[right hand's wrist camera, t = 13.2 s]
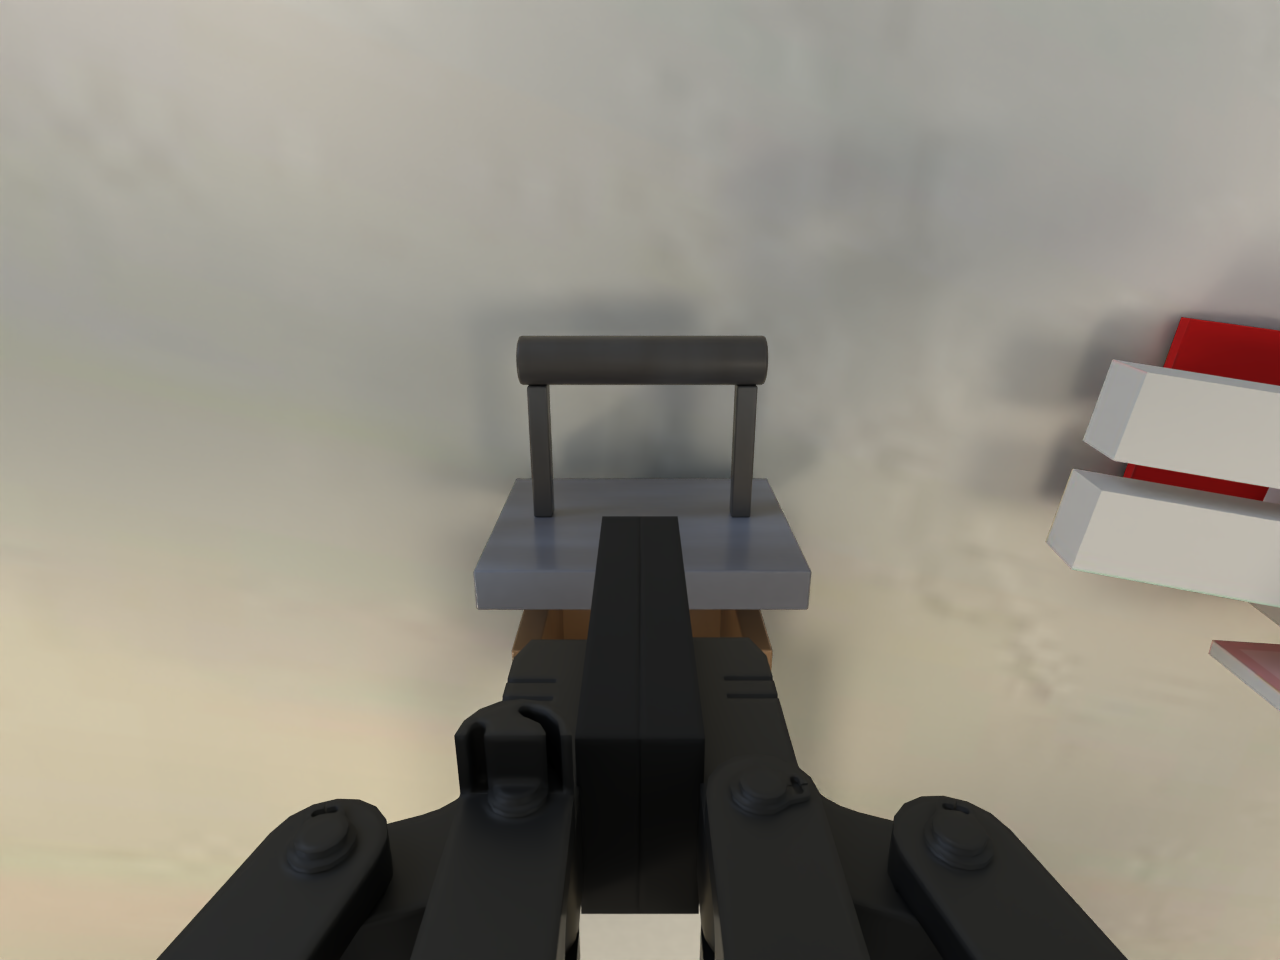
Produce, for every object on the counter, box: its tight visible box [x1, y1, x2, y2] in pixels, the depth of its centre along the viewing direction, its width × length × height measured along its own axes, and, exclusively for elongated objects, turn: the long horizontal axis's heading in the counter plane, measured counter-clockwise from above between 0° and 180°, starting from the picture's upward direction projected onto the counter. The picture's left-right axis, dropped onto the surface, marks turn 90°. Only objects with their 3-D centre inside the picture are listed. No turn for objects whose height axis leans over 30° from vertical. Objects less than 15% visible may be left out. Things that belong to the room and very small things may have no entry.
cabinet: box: [579, 906, 701, 960], centre depth 29 cm, size 17×10×9 cm, turn 0°
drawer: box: [474, 336, 811, 670], centre depth 25 cm, size 21×9×7 cm, turn 0°
